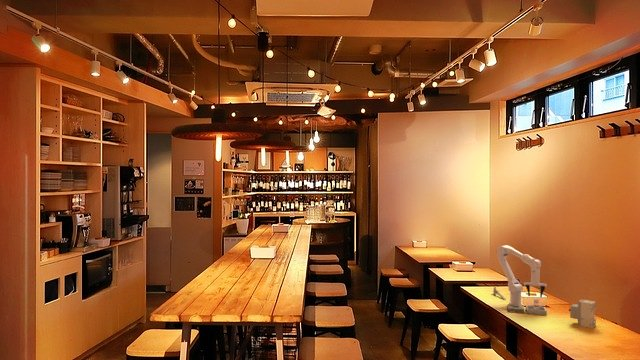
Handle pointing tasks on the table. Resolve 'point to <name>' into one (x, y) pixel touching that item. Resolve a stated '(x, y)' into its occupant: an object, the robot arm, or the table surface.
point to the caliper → (498, 293)
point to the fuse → (536, 304)
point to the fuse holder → (515, 308)
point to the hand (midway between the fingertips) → (535, 296)
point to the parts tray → (539, 312)
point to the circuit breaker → (584, 313)
